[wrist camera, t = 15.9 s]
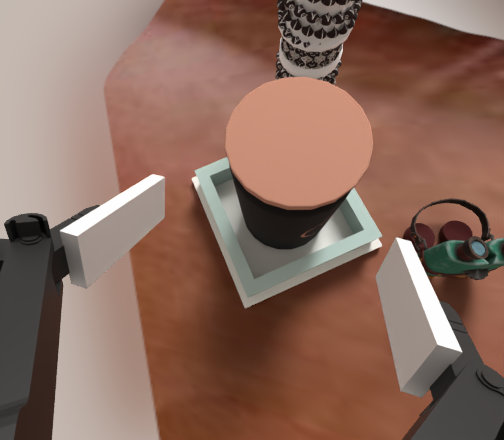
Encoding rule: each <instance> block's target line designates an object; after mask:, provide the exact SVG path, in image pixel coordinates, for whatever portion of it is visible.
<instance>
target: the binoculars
mask: <svg viewBox="0 0 504 440" xmlns="http://www.w3.org/2000/svg"><path fill="white" fill-rule="evenodd" d="M441 203H454V204H460V205H462V206H464V207H466V208H468V209H470V210H472V211H473V212H474V213H475V214H476V215H477V216H478V217H479V219H480V222H481V224H482V236H481V238H479V237H476V236H474V237H472V231H471V229H470V228H469V226H468V225H466V224H465V223H463V222H460V221H450V222H448V223H446V224H445V225H444V226H443V227H442V228H441V229H440V233H439V234H440V238H441V240H442V241H443V242H444V243H441V244H439V245H436V246H433V245H434V243H435V236H434V233H433V231H432V230H431V229H430V228H429V227H428V226H426V225H424V224H422V223H416V220H417V216H418V215H419V213H420V212H421V211H422V210H423V209H425V208H427V207H429V206H432V205H435V204H441ZM415 223H416V224H415ZM405 239H406V240H408V241H411V242H412V245H413V247H414V249H415V250H416V251H418V254H417V255H418V257H419V260H420V262H421V264H422V266H423V268H424V270H425V273H426V275H427V277H428V279H432V278H434V277H435V276H438V277H450V276H456V277H458V278H464V277H470V279H475V280H481V279H484V278H485V277H487V276H488V273H489V272H490V271H492V270H495V269H497V268H498V267H501V266H504V238H499V239H495V240H494V235H492V234H490V228H489V222H488V219H487V217H486V214H485V213H484V212H483V211H482V210H481V209H480V208H479V207H477V206H475V205H473V204H471V203H469V202H467V201H465V200H460V199H452V198H451V199H444V200H439V201H436V202H432V203H430V204H429V205H427V206H425V207H423V208H422V209H421V210H419V212H418V213H417V214H416V215H415V216H414V217H413V219H412V223H411V226H410V227H409V228H408V229H407V230H406V231H405ZM488 239H491V241H488V242H484V241H486V240H488Z"/></svg>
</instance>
